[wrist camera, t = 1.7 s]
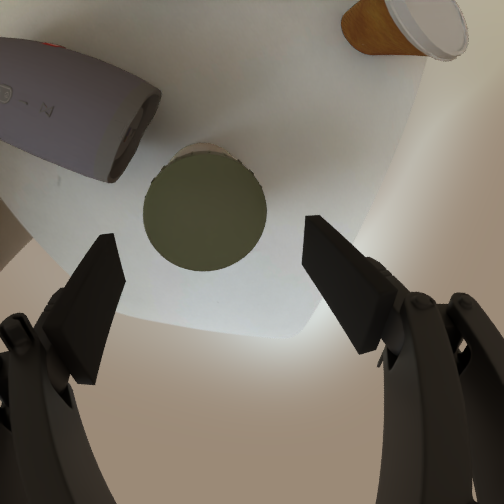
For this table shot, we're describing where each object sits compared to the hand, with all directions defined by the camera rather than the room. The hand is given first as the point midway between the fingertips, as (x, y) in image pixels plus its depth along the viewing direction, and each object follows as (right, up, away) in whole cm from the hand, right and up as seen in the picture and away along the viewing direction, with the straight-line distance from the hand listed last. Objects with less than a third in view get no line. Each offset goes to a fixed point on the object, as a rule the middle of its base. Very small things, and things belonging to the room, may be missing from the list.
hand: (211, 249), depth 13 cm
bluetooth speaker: (-17, +16, +6) cm, 24 cm away
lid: (-1, +2, +4) cm, 5 cm away
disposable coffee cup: (+14, +25, +8) cm, 30 cm away
